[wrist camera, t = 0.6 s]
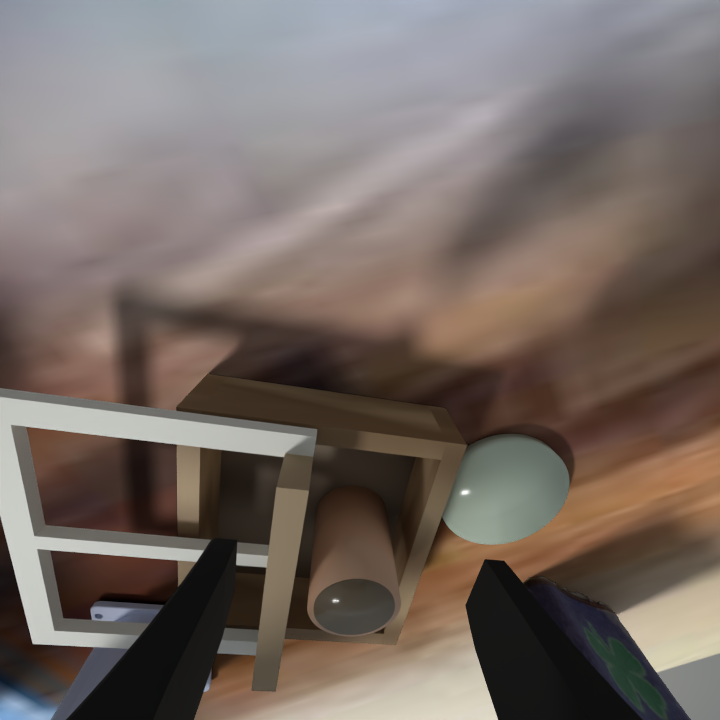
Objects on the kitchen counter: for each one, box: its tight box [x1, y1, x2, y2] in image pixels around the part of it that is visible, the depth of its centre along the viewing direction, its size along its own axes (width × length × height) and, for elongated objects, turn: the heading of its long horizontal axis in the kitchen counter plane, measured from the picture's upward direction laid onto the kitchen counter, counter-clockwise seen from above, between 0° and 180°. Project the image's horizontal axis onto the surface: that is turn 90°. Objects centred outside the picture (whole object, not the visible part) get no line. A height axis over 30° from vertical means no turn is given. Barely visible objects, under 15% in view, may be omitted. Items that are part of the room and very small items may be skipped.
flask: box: [523, 577, 691, 720], centre depth 21 cm, size 9×3×11 cm, turn 58°
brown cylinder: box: [307, 486, 401, 637], centre depth 18 cm, size 4×4×6 cm
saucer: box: [442, 434, 570, 545], centre depth 21 cm, size 8×8×1 cm
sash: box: [0, 388, 317, 692], centre depth 15 cm, size 15×13×3 cm
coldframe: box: [176, 374, 467, 645], centre depth 19 cm, size 15×13×4 cm
